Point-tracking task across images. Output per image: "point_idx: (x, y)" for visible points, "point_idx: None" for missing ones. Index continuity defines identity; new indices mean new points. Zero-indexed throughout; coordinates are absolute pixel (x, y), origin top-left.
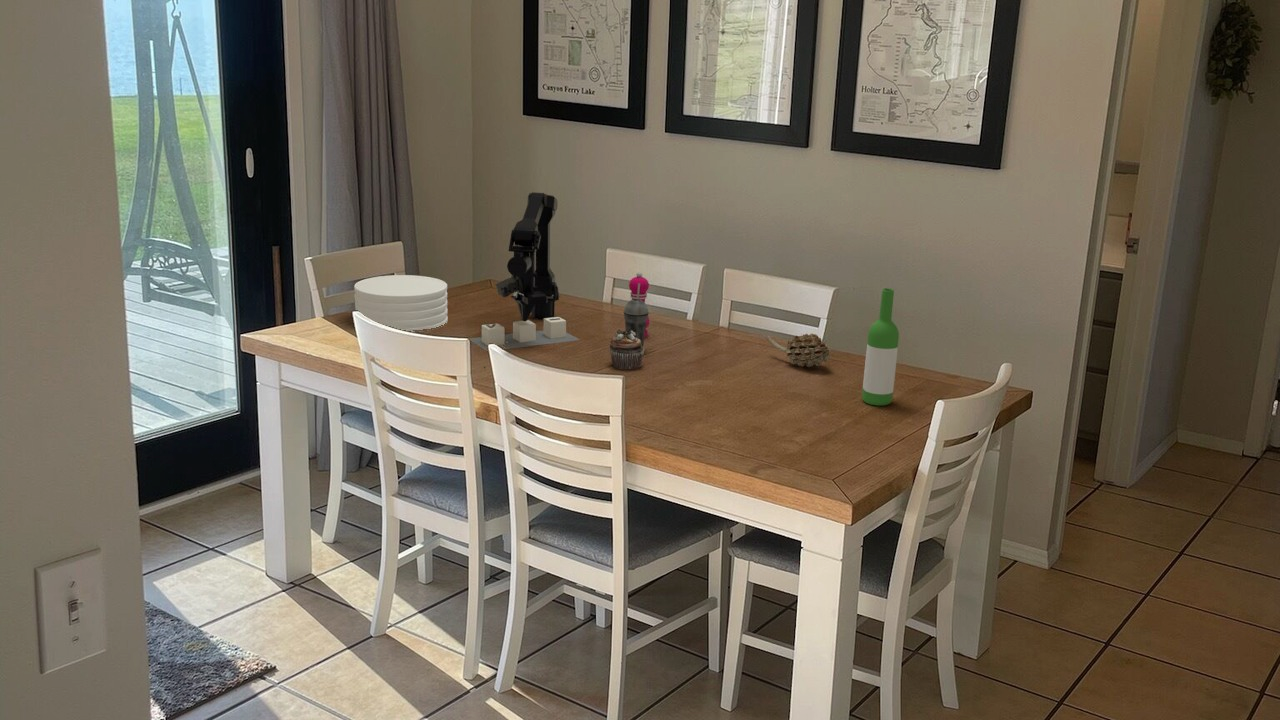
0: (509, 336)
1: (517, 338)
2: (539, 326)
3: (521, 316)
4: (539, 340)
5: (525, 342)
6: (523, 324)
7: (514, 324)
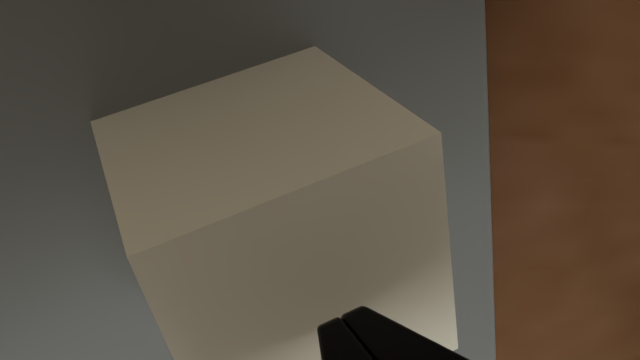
0: (392, 9)
1: (186, 103)
2: (618, 288)
3: (404, 345)
4: None
5: (82, 190)
6: (231, 305)
7: (368, 139)
